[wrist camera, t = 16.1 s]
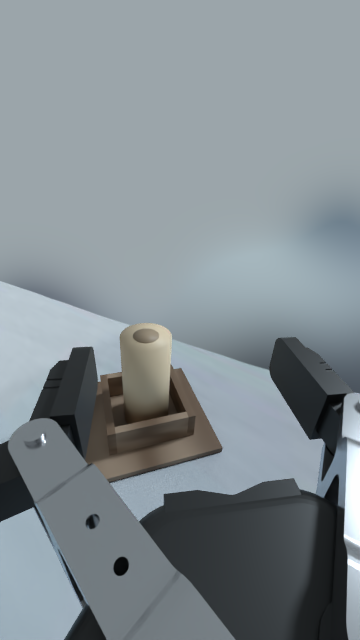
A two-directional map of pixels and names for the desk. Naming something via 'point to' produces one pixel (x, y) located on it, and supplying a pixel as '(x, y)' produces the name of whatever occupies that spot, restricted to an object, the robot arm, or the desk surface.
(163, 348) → the paper roll
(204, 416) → the roll stand
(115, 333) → the desk surface
